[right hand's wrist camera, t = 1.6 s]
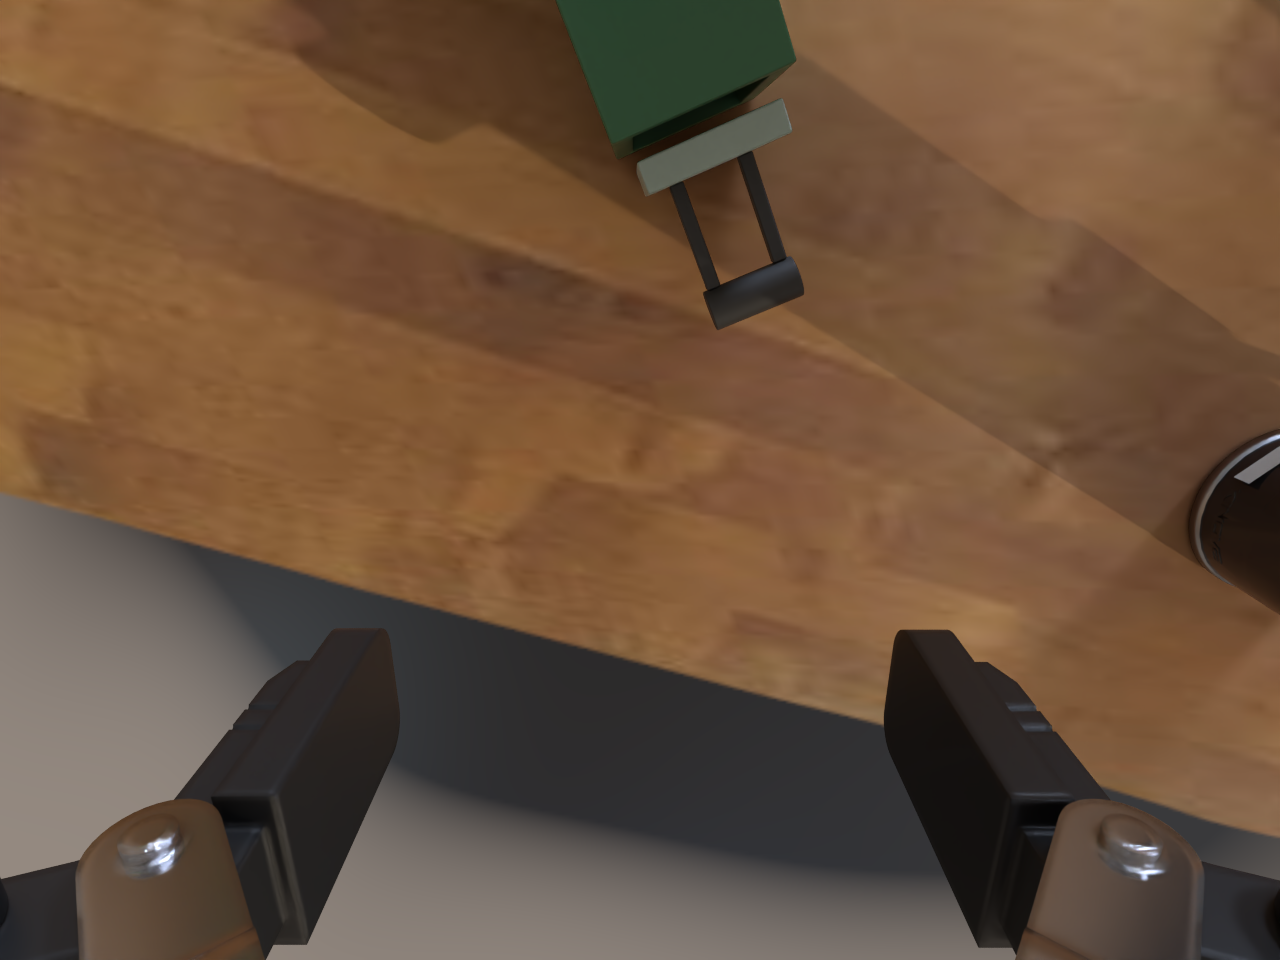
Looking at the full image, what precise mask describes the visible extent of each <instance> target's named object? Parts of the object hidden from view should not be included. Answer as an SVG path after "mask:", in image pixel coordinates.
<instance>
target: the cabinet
mask: <svg viewBox="0 0 1280 960" xmlns="http://www.w3.org/2000/svg"><path fill="white" fill-rule="evenodd" d="M555 1H556V3H557V6H558V8H559V11H560V14H561V16H562V19H563V21H564V24H565V26H566V29H567V32H568V34H569V37H570V39H571V42H572V45H573V47H574V50H575V52H576V55H577V57H578V60H579V63H580V65H581V68H582V70H583V73H584V76H585V78H586V81H587V83H588V86H589V88H590V91H591V94H592V96H593V99H594V101H595V104H596V107H597V109H598V112H599V114H600V117H601V119H602V122H603V125H604V127H605V130H606V132H607V135H608V138H609V140H610V143H611V145H612V148H613V150H614V153H615V156H616V158H617V159H620V158H623V157H625V156H627V155H629V154H631V153H634V152H636V151H638V150H640V149H643V148H645V147H647V146H649V145H652V144H654V143H656V142H658V141H660V140H663V139H665V138H667V137H669V136H672V135H674V134H676V133H678V132H681V131H683V130H685V129H687V128H689V127H692V126H694V125H696V124H698V123H701V122H703V121H705V120H707V119H709V118H712V117H714V116H716V115H718V114H721V113H723V112H725V111H727V110H730V109H732V108H734V107H736V106H738V105H741V104H743V103H745V102H747V101H750V100H752V99H754V98H755V97H756V96H757V95H758V94H760V93H761V92H762V91H763V90H764V89H765V88H766V87H767V86H769V85H770V84H771V83H772V82H773V81H774V80H775V79H777V78H778V77H779V76H780V75H781V74H782V73H783V72H785V71H786V70H787V69H788V68H789V67H790V66H791V65H792V64H793V63H794V62H795V61H796V56H795V53H794V49H793V46H792V43H791V39H790V36H789V32H788V29H787V26H786V22H785V19H784V15H783V12H782V9H781V5H780V2H779V0H555Z"/></svg>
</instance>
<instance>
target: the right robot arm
mask: <svg viewBox="0 0 1280 960" xmlns="http://www.w3.org/2000/svg"><path fill="white" fill-rule="evenodd" d="M1189 537H1190V543H1191V546H1192V549H1193V551H1194V554H1195V556H1196V557H1197V559H1198V561H1199V562H1200V563H1201V564H1202V566H1203V567H1204V568H1205V569H1207V570H1208V571H1209V572H1210V573H1212V574H1213V575H1215V576H1216V577H1218V578H1219V579H1221V580H1222V581H1224V582H1226V583H1228V584H1230V585H1233V586H1235V587H1237V588H1239V589H1240V590H1242V591H1244V592H1245V593H1247V594H1248V595H1250V596H1251V597H1253V598H1255V599H1256V600H1258V601H1259V602H1261V603H1262V604H1264V605H1265V606H1267V607H1268V608H1270V609H1271V610H1273V611H1274V612H1276V613H1278V614H1279V615H1280V430H1276V431H1272V432H1270V433H1267V434H1264V435H1262V436H1260V437H1257V438H1255V439H1253V440H1251V441H1249V442H1248V443H1246V444H1244V445H1243V446H1241V447H1240V448H1238V449H1237V450H1235V451H1234V452H1233V453H1231V454H1230V455H1229V456H1228V457H1227V458H1225V459H1224V460H1223V461H1222V462H1221V463H1220V464H1219V465H1218V466H1217V467H1216V468H1215V469H1214V471H1213V472H1212V473H1211V474H1210V475H1209V477H1208V478H1207V479H1206V481H1205V482H1204V484H1203V486H1202V487H1201V489H1200V491H1199V493H1198V495H1197V497H1196V499H1195V502H1194V504H1193V507H1192V511H1191V515H1190V521H1189ZM399 724H400V712H399V703H398V696H397V689H396V682H395V674H394V667H393V660H392V652H391V645H390V639H389V636H388V634H387V632H386V630H385V629H382V628H379V629H377V628H376V629H375V628H372V629H370V628H369V629H368V628H362V629H361V628H357V629H355V628H354V629H353V628H349V629H348V628H347V629H346V628H343V629H341V628H339V629H334V630H333V631H331V633H330V634H329V635H328V636H327V638H326V639H325V640H324V642H323V643H322V645H321V646H320V647H319V649H318V650H317V652H316V653H315V654H314V656H313V657H312V658H311V660H310V661H296V662H294V663H293V664H291V665H290V666H289V667H287V668H286V669H284V670H283V671H281V672H280V673H278V674H277V675H276V676H274V677H273V678H271V679H270V680H268V681H267V682H266V684H265V685H264V686H263V688H262V689H261V690H260V691H259V692H258V694H257V695H256V696H255V698H254V699H253V700H252V701H251V703H250V704H249V708H248V710H244V712H243V713H242V714H241V715H240V717H239V718H238V719H237V720H236V722H235V723H234V724H233V729H232V730H229V731H228V732H227V733H226V734H225V736H224V737H223V738H222V739H221V741H220V742H219V743H218V745H217V746H216V747H215V748H214V750H213V751H212V752H211V754H210V755H209V756H208V757H207V758H206V760H205V761H204V762H203V764H202V765H201V766H200V767H199V769H198V770H197V771H196V773H195V774H194V775H193V776H192V778H191V779H190V780H189V781H188V783H187V784H186V785H185V787H184V788H183V789H182V790H181V792H180V793H179V794H178V795H177V797H176V798H175V799H174V800H170V801H166V802H162V803H158V804H155V805H152V806H149V807H146V808H143V809H141V810H139V811H137V812H134V813H132V814H131V815H129V816H127V817H125V818H123V819H121V820H120V821H118V822H117V823H115V824H114V825H112V826H111V827H110V828H108V829H107V830H106V831H104V832H103V833H102V834H101V835H100V836H99V837H98V838H97V839H96V840H94V841H93V842H92V844H91V845H90V846H89V847H88V848H87V850H86V851H85V852H84V854H83V856H82V857H81V859H80V860H78V861H75V862H71V863H67V864H62V865H58V866H54V867H50V868H46V869H42V870H37V871H33V872H29V873H25V874H21V875H17V876H13V877H8V878H4V879H1V878H0V960H266V958H267V956H268V954H269V952H270V950H271V948H272V946H273V945H307V943H308V941H309V939H310V937H311V934H312V932H313V930H314V928H315V926H316V923H317V921H318V919H319V917H320V914H321V912H322V910H323V908H324V906H325V903H326V901H327V899H328V897H329V895H330V892H331V890H332V888H333V886H334V884H335V881H336V879H337V877H338V875H339V872H340V870H341V868H342V866H343V864H344V861H345V859H346V857H347V855H348V853H349V850H350V848H351V846H352V844H353V841H354V839H355V837H356V835H357V833H358V830H359V828H360V826H361V824H362V821H363V819H364V817H365V815H366V813H367V811H368V808H369V806H370V804H371V802H372V799H373V797H374V795H375V793H376V791H377V788H378V786H379V784H380V782H381V779H382V777H383V775H384V773H385V771H386V769H387V766H388V764H389V762H390V760H391V757H392V755H393V753H394V750H395V747H396V743H397V739H398V734H399ZM884 730H885V737H886V742H887V746H888V750H889V753H890V755H891V757H892V760H893V762H894V764H895V766H896V768H897V770H898V773H899V775H900V777H901V779H902V781H903V784H904V786H905V788H906V790H907V792H908V794H909V797H910V799H911V801H912V803H913V805H914V808H915V810H916V812H917V814H918V816H919V818H920V821H921V823H922V825H923V827H924V829H925V832H926V834H927V836H928V838H929V840H930V843H931V845H932V847H933V849H934V851H935V853H936V856H937V858H938V860H939V862H940V864H941V867H942V869H943V871H944V873H945V875H946V877H947V880H948V882H949V884H950V886H951V888H952V891H953V893H954V895H955V897H956V899H957V902H958V904H959V906H960V908H961V910H962V912H963V915H964V917H965V919H966V921H967V923H968V926H969V928H970V930H971V932H972V934H973V936H974V939H975V941H976V943H977V945H978V947H979V948H1013V950H1014V952H1015V954H1016V959H1015V960H1280V881H1279V880H1275V879H1271V878H1266V877H1262V876H1258V875H1254V874H1250V873H1246V872H1241V871H1237V870H1233V869H1229V868H1225V867H1221V866H1217V865H1213V864H1209V863H1206V862H1202V861H1200V859H1199V857H1198V856H1197V854H1196V852H1195V851H1194V850H1193V848H1192V847H1191V846H1190V845H1189V844H1188V842H1187V841H1186V840H1184V839H1183V838H1182V837H1181V836H1180V835H1179V834H1178V833H1177V832H1176V831H1174V830H1173V829H1172V828H1170V827H1169V826H1168V825H1166V824H1165V823H1163V822H1162V821H1160V820H1159V819H1157V818H1155V817H1153V816H1151V815H1149V814H1148V813H1146V812H1143V811H1141V810H1139V809H1137V808H1134V807H1131V806H1128V805H1125V804H1122V803H1118V802H1114V801H1111V800H1110V799H1109V798H1108V796H1107V795H1106V794H1105V793H1104V791H1103V790H1102V789H1101V788H1100V786H1099V785H1098V784H1097V782H1096V781H1095V780H1094V779H1093V777H1092V776H1091V775H1090V774H1089V772H1088V771H1087V770H1086V769H1085V767H1084V766H1083V765H1082V764H1081V762H1080V761H1079V760H1078V759H1077V757H1076V756H1075V755H1074V754H1073V752H1072V751H1071V750H1070V749H1069V747H1068V746H1067V745H1066V743H1065V742H1064V741H1063V740H1062V738H1061V737H1060V736H1059V735H1058V733H1057V732H1053V731H1052V726H1051V725H1050V723H1049V722H1048V721H1047V720H1046V718H1045V717H1044V716H1043V715H1042V713H1041V712H1040V711H1037V710H1036V706H1035V704H1034V703H1033V702H1032V701H1031V699H1030V698H1029V697H1028V696H1027V694H1026V693H1025V692H1024V691H1023V689H1022V688H1021V687H1020V686H1019V684H1018V683H1017V682H1016V681H1014V680H1013V679H1011V678H1010V677H1008V676H1007V675H1005V674H1004V673H1002V672H1001V671H1000V670H998V669H997V668H995V667H994V666H992V665H991V664H989V663H988V662H974V660H973V659H972V658H971V656H970V655H969V654H968V652H967V651H966V650H965V648H964V647H963V646H962V644H961V643H960V641H959V640H958V639H957V637H956V636H955V635H954V634H953V632H951V631H950V630H900V631H898V633H897V634H896V637H895V640H894V645H893V652H892V659H891V666H890V674H889V681H888V688H887V695H886V702H885V710H884Z"/></svg>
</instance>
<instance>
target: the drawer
mask: <svg viewBox="0 0 1280 960" xmlns="http://www.w3.org/2000/svg"><path fill="white" fill-rule="evenodd" d="M791 132H792V127H791V124H790V121H789V117H788V114H787V111H786V107H785V104H784V101H783V99H782V98H780V99H777V100H775V101H773V102H771V103H768V104H766V105H764V106H762V107H759V108H757V109H755V110H753V111H751V112H748V113H746V114H744V115H742V116H739V117H737V118H735V119H733V120H730V121H728V122H726V123H724V124H721V125H719V126H717V127H715V128H712V129H710V130H708V131H706V132H703V133H701V134H699V135H697V136H695V137H692V138H690V139H688V140H686V141H683V142H681V143H679V144H677V145H674V146H672V147H670V148H668V149H665V150H663V151H661V152H659V153H656V154H654V155H652V156H650V157H648V158H645V159H643V160H641V161H639V162H638V163H637V176H638V178H639V181H640V183H641V186H642V189H643V191H644V194H645V196H650V195H652V194H654V193H657V192H659V191H661V190H663V189H666V188H668V187H669V189H670V192H671V194H672V197H673V200H674V203H675V205H676V208H677V211H678V213H679V216H680V219H681V222H682V224H683V227H684V230H685V232H686V235H687V238H688V241H689V243H690V246H691V249H692V251H693V254H694V257H695V260H696V262H697V265H698V268H699V270H700V273H701V276H702V279H703V281H704V284H705V287H706V289H707V291H705V292H703V295H704V299H705V301H706V304H707V307H708V310H709V312H710V315H711V318H712V320H713V323H714V325H715V327H716V329H717V330H719V329H722V328H724V327H727V326H729V325H732V324H734V323H736V322H739V321H741V320H744V319H746V318H749V317H751V316H754V315H756V314H758V313H761V312H763V311H766V310H768V309H771V308H773V307H776V306H778V305H780V304H783V303H785V302H788V301H790V300H793V299H795V298H798V297H800V296H802V295H804V287H803V283H802V279H801V276H800V273H799V270H798V268H797V266H796V264H795V262H794V260H793V259H792V257H790V256H788V257H787V256H786V253H785V250H784V247H783V244H782V241H781V238H780V235H779V232H778V229H777V226H776V223H775V219H774V216H773V213H772V210H771V207H770V204H769V201H768V198H767V195H766V192H765V189H764V186H763V183H762V180H761V177H760V173H759V170H758V167H757V164H756V161H755V158H754V155H753V152H752V150H754V149H757V148H759V147H761V146H763V145H766V144H768V143H770V142H772V141H774V140H777V139H779V138H781V137H783V136H785V135H788V134H790V133H791ZM736 157H737V160H738V163H739V166H740V169H741V172H742V175H743V178H744V181H745V184H746V187H747V190H748V193H749V196H750V199H751V202H752V205H753V208H754V211H755V214H756V217H757V220H758V223H759V226H760V229H761V232H762V235H763V238H764V241H765V244H766V247H767V250H768V253H769V256H770V259H771V261H772V262H773V263H772V264H769V265H767V266H764V267H762V268H760V269H757V270H755V271H752V272H750V273H748V274H745V275H743V276H740V277H738V278H736V279H733V280H731V281H728V282H726V283H724V284H721V285H720V282H719V279H718V277H717V274H716V271H715V268H714V266H713V263H712V260H711V257H710V254H709V252H708V249H707V246H706V243H705V241H704V238H703V235H702V232H701V230H700V227H699V224H698V221H697V219H696V216H695V213H694V210H693V207H692V205H691V202H690V199H689V196H688V194H687V191H686V188H685V185H684V183H683V181H684V180H686V179H688V178H691V177H693V176H695V175H698V174H700V173H702V172H704V171H707V170H709V169H711V168H714V167H716V166H718V165H720V164H723V163H725V162H727V161H729V160H732V159H734V158H736Z"/></svg>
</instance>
